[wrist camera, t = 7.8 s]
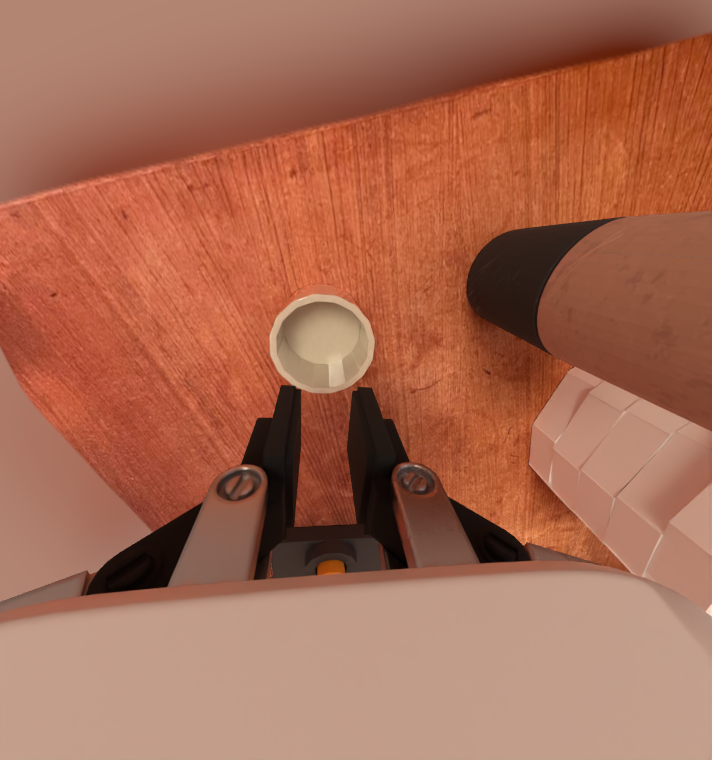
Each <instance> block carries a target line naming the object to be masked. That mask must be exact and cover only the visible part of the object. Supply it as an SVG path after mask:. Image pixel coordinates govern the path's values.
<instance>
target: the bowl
mask: <svg viewBox="0 0 712 760" xmlns="http://www.w3.org/2000/svg"><path fill="white" fill-rule="evenodd" d="M269 344H270V356H271V358H272V360H273V362H274V364H275V366H276V368H277V370H278V372H279V374H281V375H282V376H283V377H284V378H285V379H286V380H287V381H288V382H290V383H291V384H292V385H293V386H296V387H297V388H300V389H303V390H305V391H308V392H310V393H334V392H337V391H340V390H343V389H346V388H348V387H350V386H351V385H353V384H354V383H355V382H356V381H358V380H359V379H360V378H361V377H363V375H364V374H365V372H366V370H367V369H368V367H369V365H370V363H371V362H372V359H373V354H374V346H375V339H374V335H373V332H372V328H371V325H370V322H369V320H368V319H367V317H366V315H365V314H364V312H363V310H362V309H361V307H360V306H359V305H358V304H357V302H356V301H355V300H354V298H353V297H352V296H351V295H350V294H349V293H347V292H346V291H344V290H343V289H341V288H339V287H336V286H333V285H330V284H312V285H308V286H305V287H303V288H301V289H299V290H297V291H296V292H295V293H294V294H292V295H291V296H290V297H289V299H288V300H287V301H286V302H285V303H284V305H283V306H282V308H281V310H280V312H279V313H278V315H277V317H276V319H275V322H274V324H273V327H272V329H271V332H270V334H269Z"/></svg>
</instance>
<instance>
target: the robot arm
mask: <svg viewBox="0 0 712 760" xmlns="http://www.w3.org/2000/svg"><path fill="white" fill-rule="evenodd" d="M300 453H301V389H296V386H289V385H281V388H280V392H279V396H278V399H277V403H276V407H275V411H274V414H273V418H258V419H257V421H256V424H255V426H254V429H253V432H252V435H251V438H250V441H249V444H248V446H247V449H246V452H245V455H244V458H243V461H242V463H241V465H237V466H234V467H231V468H228V469H227V470H225V471H223V472H221V473H220V474H219V475H218V476H217V477H216V478H215V479H214V481H213V482H212V484H211V486H210V488H209V490H208V493H207V495H206V497H205V500H204V502H202V503H201V504H199V505H197V506H196V507H194V508H192V509H191V510H189V511H187V512H186V513H184V514H182V515H181V516H179V517H177V518H176V519H174V520H173V521H171V522H169V523H168V524H166V525H164V526H163V527H161V528H159V529H158V530H156V531H154V532H153V533H151V534H150V535H148V536H146V537H145V538H143V539H141V540H140V541H138V542H137V543H135V544H133V545H131V546H130V547H128V548H126V549H125V550H124V551H122V552H120V553H119V554H117V555H116V556H114V557H113V558H112V559H110V560H109V561H108V562H107V563H106V564H105V565H104V566H103V567H102V568H101V569H100V570H99V571H98V572H96V573H93V574H89V573H88V571H84V572H82V573H79V574H76V575H73V576H70V577H68V578H65V579H62V580H59V581H56V582H54V583H51V584H48V585H45V586H43V587H40V588H37V589H35V590H32V591H29V592H26V593H24V594H21V595H18V596H16V597H13V598H10V599H7V600H4V601H2V602H0V760H712V616H710V615H709V614H708V613H707V612H705V611H704V610H703V609H701V608H700V607H699V606H697V605H696V604H695V603H693V602H692V601H690V600H689V599H687V598H686V597H684V596H682V595H681V594H679V593H677V592H675V591H674V590H672V589H670V588H668V587H666V586H663V585H661V584H659V583H657V582H654V581H652V580H649V579H647V578H644V577H641V576H638V575H635V574H631V573H628V572H625V571H622V570H619V569H615V568H611V567H606V566H602V565H600V564H597V563H593V562H590V561H587V560H584V559H580V558H577V557H574V556H570V555H567V554H564V553H561V552H557V551H554V550H551V549H547V548H544V547H541V546H538V545H534V544H531V543H528V542H526V544H525V546H523V545H522V544H521V543H520V542H519V541H518V540H517V539H516V538H515V537H514V536H513V535H511V534H510V533H508V532H507V531H506V530H504V529H502V528H500V527H499V526H497V525H495V524H494V523H492V522H490V521H489V520H487V519H485V518H483V517H482V516H480V515H478V514H477V513H475V512H473V511H471V510H470V509H468V508H466V507H465V506H463V505H461V504H459V503H458V502H456V501H454V500H453V499H451V498H449V497H448V496H447V494H446V492H445V490H444V488H443V486H442V484H441V482H440V480H439V478H438V477H437V475H436V474H435V473H434V472H433V471H432V470H431V469H430V468H428V467H426V466H424V465H422V464H419V463H415V462H410V461H409V459H408V456H407V454H406V451H405V449H404V447H403V444H402V442H401V439H400V437H399V434H398V432H397V430H396V427H395V425H394V422H393V420H392V419H383V417H382V414H381V412H380V409H379V406H378V403H377V400H376V398H375V395H374V392H373V389H372V388H366V387H358V389H357V391H353V392H352V401H351V411H350V422H349V432H348V442H347V453H348V460H349V468H350V475H351V483H352V490H353V498H354V505H355V513H356V520H357V524H358V525H359V524H363V531H364V535H370V536H372V537H373V538H374V539H375V540H377V541H378V550H379V555H380V561H381V566H382V570H381V571H368V572H354V573H341V574H328V575H314V576H301V577H288V578H275V579H269V576H270V568H271V561H272V550H273V549H274V548H275V547H276V546H277V545H278V544H279V543H281V542H282V541H283V539H286V536H287V528H294V520H295V509H296V498H297V487H298V475H299V464H300Z"/></svg>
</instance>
